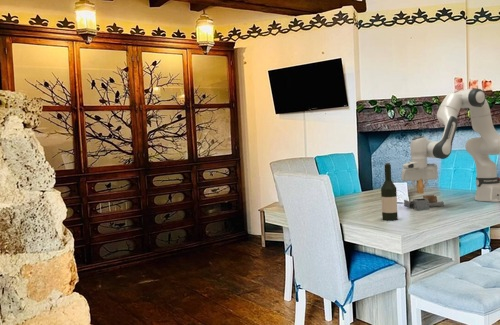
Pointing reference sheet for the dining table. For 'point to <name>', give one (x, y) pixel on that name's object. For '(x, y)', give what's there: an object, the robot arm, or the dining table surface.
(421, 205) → the square tube sleeve
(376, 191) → the dining table surface
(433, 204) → the bay
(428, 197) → the crate
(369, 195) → the dining table surface
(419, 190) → the round peg
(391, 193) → the wine bottle
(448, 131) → the robot arm
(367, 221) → the dining table surface
